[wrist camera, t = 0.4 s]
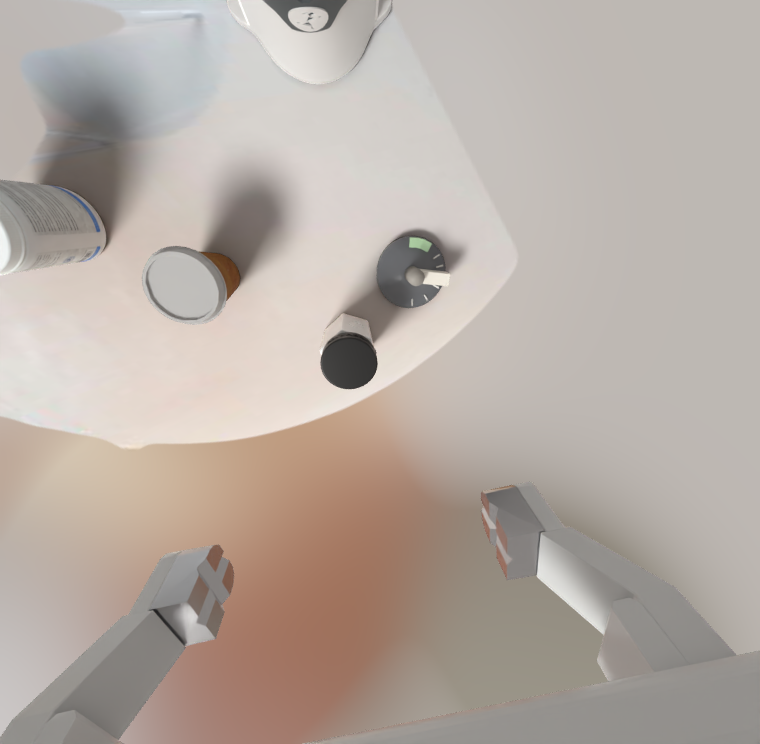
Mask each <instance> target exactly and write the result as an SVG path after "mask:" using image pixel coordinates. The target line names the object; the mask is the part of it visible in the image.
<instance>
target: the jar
mask: <svg viewBox="0 0 760 744" xmlns="http://www.w3.org/2000/svg"><path fill="white" fill-rule="evenodd" d="M320 352H321V355H322V356H321V369H322V372H323V375H324V376H325V378H326V379H327V380H328V381H329V382H330V383H331V384H333V385H335V386H337V387H339V388H343V389H355V388H359V387H362V386H364V385H365V384H367V383H368V382H369V381H370V380H371V379H372V378H373V376H374V375H375V373H376V370H377V365H378V363H377V356H376V350H375V348H374V343H373V339H372V335H371V331H370V326H369V322H368V320H365V319H361V318H358V317H355V316H351V315H348V314H344V313H342V314H341V315H340V316H339V317H338V318H337V319H336V320H335V321H334V322H333V323H332V324H331V325H330V326H328V327H327V328H326V329H325V330H324V334H323V338H322V342H321V347H320Z"/></svg>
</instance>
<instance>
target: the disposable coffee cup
mask: <svg viewBox="0 0 760 744" xmlns="http://www.w3.org/2000/svg"><path fill="white" fill-rule="evenodd" d="M239 282H240V275H239V271H238V269H237V267H236V265H235V264H234V263H233V262H232V261H231V260H230V259H229V258H228V257H226V256H224V255H221V254H217V253H208V252H198V251H196V250H193V249H190V248H187V247H180V246H171V247H166V248H163V249H160V250H158V251H157V252H155V253H154V254H153V255H152V256H151V257H150V258H149V259H148V261H147V263H146V265H145V267H144V270H143V274H142V285H143V289H144V292H145V294H146V296H147V298H148V300H149V301H150V303H151V304H152V305H153V307H154V308H155V309H157V310H158V311H159V312H160V313H161V314H163V315H164V316H166V317H167V318H169V319H171V320H174V321H176V322H180V323H185V324H192V325H195V324H204V323H207V322H209V321H212V320H213V319H215V318H216V317H217V316H219V314H220V313H221V312H222V310H223V308H224V307H225V304H226V301H227V300H228V299H229V297H230V296H231V295H232V294H233V292H234V291H235V290H236V289H237V287H238V286H239Z"/></svg>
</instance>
